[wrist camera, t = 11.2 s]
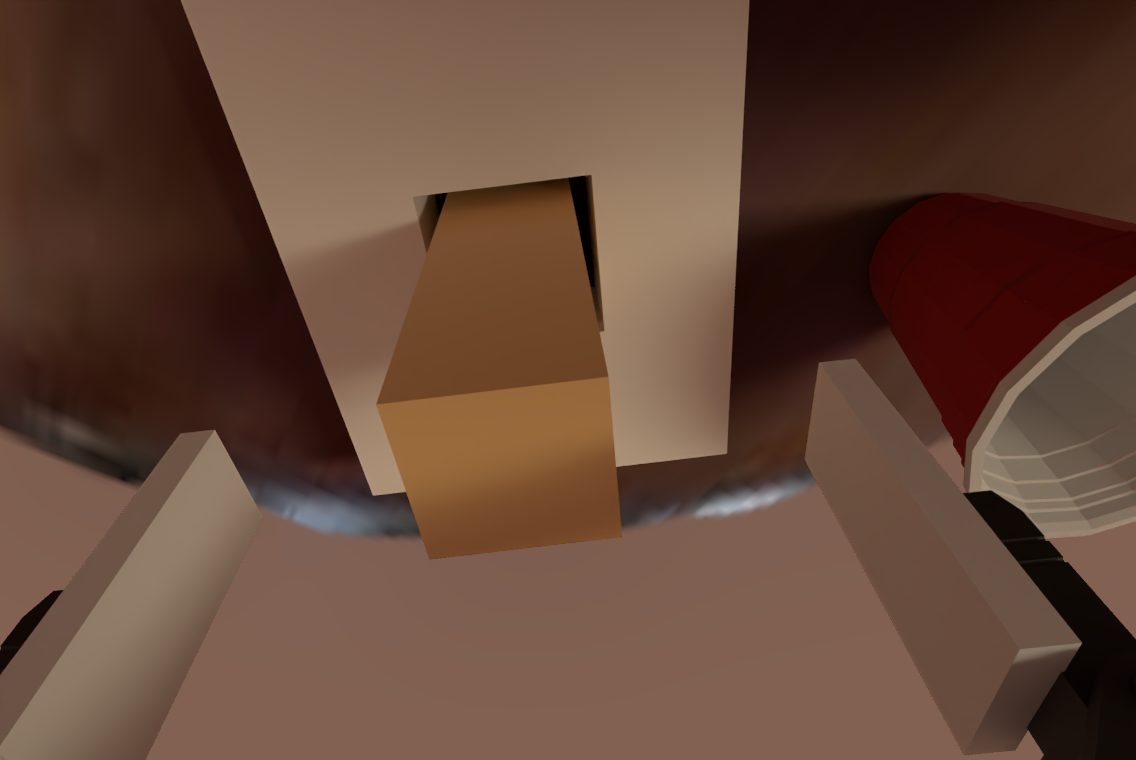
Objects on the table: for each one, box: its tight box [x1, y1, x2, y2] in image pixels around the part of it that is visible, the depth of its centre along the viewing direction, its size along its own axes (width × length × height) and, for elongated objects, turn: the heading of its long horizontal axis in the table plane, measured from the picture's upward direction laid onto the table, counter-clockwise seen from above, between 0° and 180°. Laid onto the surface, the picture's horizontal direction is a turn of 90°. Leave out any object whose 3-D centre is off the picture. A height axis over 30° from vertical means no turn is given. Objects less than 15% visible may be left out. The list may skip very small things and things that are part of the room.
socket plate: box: [181, 0, 749, 495], centre depth 24 cm, size 16×20×4 cm
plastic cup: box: [869, 193, 1136, 538], centre depth 23 cm, size 11×11×12 cm
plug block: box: [376, 178, 622, 559], centre depth 19 cm, size 4×4×15 cm
